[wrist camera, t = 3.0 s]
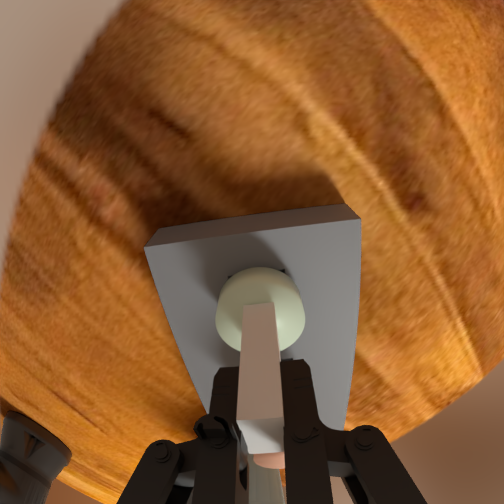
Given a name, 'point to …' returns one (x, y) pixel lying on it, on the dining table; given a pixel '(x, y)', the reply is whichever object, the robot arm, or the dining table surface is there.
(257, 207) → the dining table surface
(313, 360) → the gray rectangular slab
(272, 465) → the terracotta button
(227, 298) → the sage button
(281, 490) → the cup
